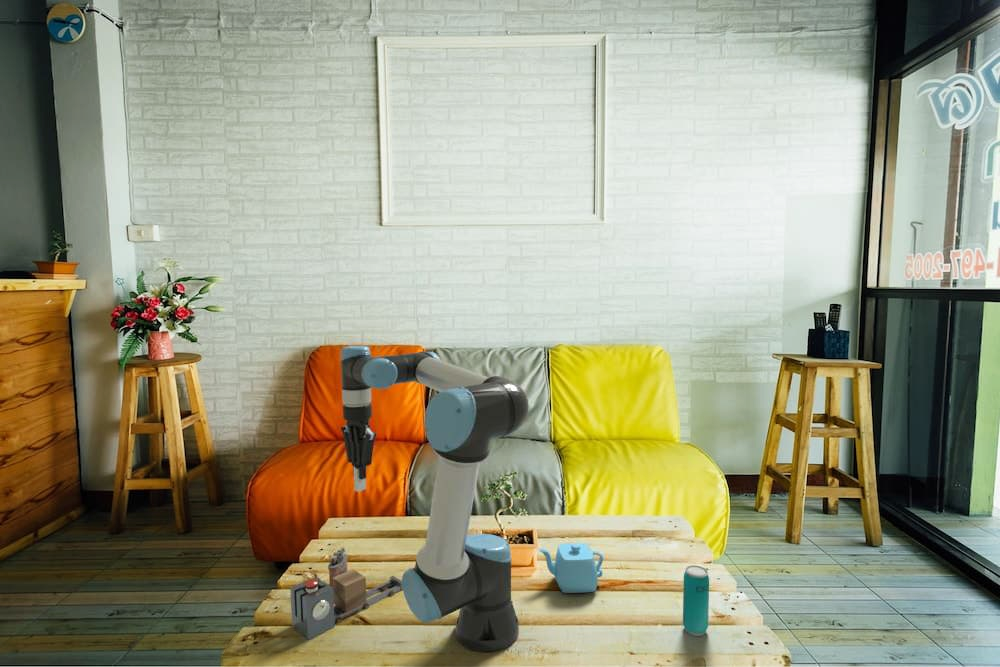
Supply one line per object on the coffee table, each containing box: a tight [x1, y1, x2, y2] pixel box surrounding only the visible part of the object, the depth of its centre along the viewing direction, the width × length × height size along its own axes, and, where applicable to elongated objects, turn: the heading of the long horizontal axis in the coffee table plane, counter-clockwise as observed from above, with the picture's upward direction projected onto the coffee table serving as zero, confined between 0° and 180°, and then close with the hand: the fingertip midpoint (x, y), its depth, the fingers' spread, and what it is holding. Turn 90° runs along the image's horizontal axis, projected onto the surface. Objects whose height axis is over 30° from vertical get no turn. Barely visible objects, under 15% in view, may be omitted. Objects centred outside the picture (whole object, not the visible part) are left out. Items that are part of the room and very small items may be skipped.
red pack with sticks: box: [327, 546, 349, 588], centre depth 157 cm, size 8×3×10 cm, turn 168°
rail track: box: [294, 575, 403, 637], centre depth 147 cm, size 6×29×2 cm, turn 136°
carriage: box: [333, 569, 367, 613], centre depth 146 cm, size 6×6×7 cm
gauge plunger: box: [304, 578, 318, 595], centre depth 139 cm, size 3×3×7 cm
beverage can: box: [682, 565, 710, 637], centre depth 136 cm, size 6×6×15 cm
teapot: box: [538, 542, 604, 594], centre depth 157 cm, size 12×18×12 cm
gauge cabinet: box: [289, 576, 336, 641], centre depth 139 cm, size 8×7×10 cm
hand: (360, 489), depth 154 cm, fingers closed
